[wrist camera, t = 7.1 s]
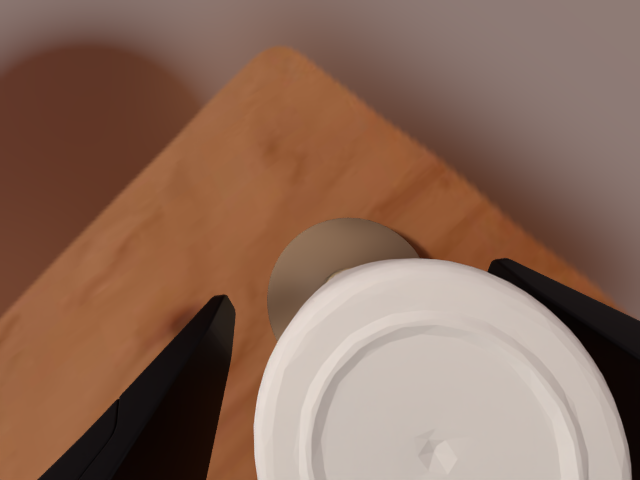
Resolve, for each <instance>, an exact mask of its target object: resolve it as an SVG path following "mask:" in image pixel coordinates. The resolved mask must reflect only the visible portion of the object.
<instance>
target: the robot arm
mask: <svg viewBox="0 0 640 480" xmlns="http://www.w3.org/2000/svg"><path fill="white" fill-rule="evenodd" d="M487 272H488V273H490V274H492V275H495V276H497V277H499V278H501V279H503V280H506V281H508V282H510V283H511V284H513V285H515V286H516V287H518V288H520V289H522V290H523V291H525V292H526V293H528V294H529V295H531V296H532V297H534V298H535V299H536V300H537V301H539V302H540V303H541V304H543V305H544V306H545V307H547V308H548V309H549V310H550V311H551V312H552V313H553V314H554V315H555V316H557V317H558V318H559V319H560V320H561V321H562V322H563V323H564V324H565V325H566V326H567V327H568V328H569V329H570V330H571V331H572V333H573V334H574V335H575V336H576V337H577V338H578V339H579V341H580V342H581V344H582V345H583V346H584V348H585V349H586V350H587V352H588V353H589V355H590V356H591V357H592V359H593V360H594V362H595V364H596V365H597V367H598V369H599V370H600V372H601V373H602V375H603V377H604V379H605V381H606V383H607V386H608V388H609V390H610V392H611V394H612V396H613V398H614V401H615V404H616V407H617V410H618V413H619V415H620V418H621V421H622V424H623V428H624V432H625V435H626V439H627V443H628V447H629V454H630V461H631V473H632V480H640V321H639V320H637V319H634V318H632V317H630V316H628V315H626V314H624V313H622V312H620V311H618V310H616V309H613V308H611V307H609V306H607V305H605V304H603V303H601V302H599V301H597V300H595V299H592V298H590V297H588V296H586V295H584V294H582V293H580V292H578V291H576V290H574V289H571V288H569V287H567V286H565V285H563V284H561V283H559V282H557V281H555V280H553V279H550V278H548V277H546V276H544V275H542V274H540V273H538V272H536V271H534V270H532V269H529V268H527V267H525V266H523V265H521V264H519V263H517V262H515V261H513V260H511V259H508V258H502V259H495V260H493V261H492V262H491V264H490V267H489V269H488V271H487ZM235 315H236V314H235V309H234V307H233V305H232V303H231V301H230V300H229V298H228V296H227V295H216V296H214V297H212V298H211V299H210V300H209V301H208V302H207V303H206V305H205V306H204V307H203V308H202V309H201V310H200V311H199V312H198V313H197V314H196V315H195V316H194V317H193V318H192V320H191V321H190V322H189V323H188V324H187V325H186V326H185V327H184V328H183V329H182V330H181V331H180V332H179V333H178V335H177V336H176V337H175V338H174V339H173V340H172V341H171V342H170V343H169V344H168V345H167V346H166V347H165V348H164V350H163V351H162V352H161V353H160V354H159V355H158V356H157V357H156V358H155V359H154V360H153V361H152V362H151V363H150V365H149V366H148V367H147V368H146V369H145V370H144V371H143V372H142V373H141V374H140V375H139V376H138V377H137V378H136V380H135V381H134V382H133V383H132V384H131V385H130V386H129V387H128V388H127V389H126V390H125V391H124V392H123V393H122V395H121V396H120V397H119V399H117V400H116V401H115V402H114V403H113V404H112V405H111V406H110V407H109V408H108V409H107V410H106V412H105V413H104V414H103V415H102V416H101V417H100V418H99V419H98V420H97V421H96V422H95V423H94V424H93V425H92V426H91V427H90V428H89V429H88V430H87V431H86V432H85V433H84V434H83V436H82V437H81V438H79V439H78V440H77V441H76V442H75V443H74V444H73V445H72V446H71V447H70V448H69V449H68V450H67V451H66V452H65V453H64V454H63V455H62V456H61V457H60V458H59V459H58V460H57V461H56V462H55V463H54V464H53V465H52V466H51V467H50V468H49V469H48V470H47V471H46V472H45V473H44V474H43V475H42V476H41V477H40V478H39V479H38V480H206V478H207V473H208V468H209V463H210V459H211V454H212V449H213V444H214V439H215V434H216V430H217V425H218V420H219V415H220V410H221V406H222V401H223V396H224V391H225V386H226V381H227V377H228V372H229V367H230V362H231V356H232V347H233V336H234V326H235Z"/></svg>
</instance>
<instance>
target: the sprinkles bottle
mask: <svg viewBox="0 0 640 480" xmlns="http://www.w3.org/2000/svg"><path fill="white" fill-rule="evenodd" d="M254 451H255V463H256V470H257V478H258V480H632V473H631V461H630V454H629V447H628V443H627V439H626V435H625V432H624V428H623V424H622V421H621V418H620V415H619V413H618V410H617V407H616V404H615V401H614V398H613V396H612V394H611V392H610V390H609V388H608V386H607V383H606V381H605V379H604V377H603V375H602V373H601V372H600V370H599V369H598V367H597V365H596V364H595V362H594V360H593V359H592V357H591V356H590V355H589V353H588V352H587V350H586V349H585V348H584V346H583V345H582V344H581V342H580V341H579V339H578V338H577V337H576V336H575V335H574V334H573V333H572V331H571V330H570V329H569V328H568V327H567V326H566V325H565V324H564V323H563V322H562V321H561V320H560V319H559V318H558V317H557V316H555V315H554V314H553V313H552V312H551V311H550V310H549V309H548V308H547V307H545V306H544V305H543V304H541V303H540V302H539V301H537V300H536V299H535V298H534V297H532V296H531V295H529V294H528V293H526V292H525V291H523V290H522V289H520V288H518V287H516V286H515V285H513V284H511V283H510V282H508V281H506V280H503V279H501V278H499V277H497V276H495V275H492V274H490V273H488V272H486V271H483V270H480V269H477V268H474V267H471V266H467V265H463V264H459V263H455V262H451V261H444V260H435V259H419V258H411V259H390V260H382V261H376V262H371V263H367V264H363V265H360V266H356V267H354V268H346V269H343V270H341V271H339V272H337V273H335V274H333V275H332V276H331V277H330V278H329V280H328V281H327V282H326V283H325V284H324V285H323V286H322V287H320V288H319V289H318V290H317V291H316V292H315V293H314V294H313V295H312V296H311V297H310V298H309V299H308V300H307V301H306V302H305V303H304V305H303V306H302V307H301V308H300V309H299V311H298V312H297V314H296V315H295V316H294V318H293V319H292V321H291V322H290V323H289V325H288V326H287V328H286V329H285V331H284V332H283V334H282V335H281V337H280V338H279V340H278V342H277V344H276V346H275V348H274V350H273V352H272V354H271V356H270V358H269V361H268V363H267V366H266V369H265V371H264V375H263V378H262V382H261V385H260V389H259V392H258V398H257V404H256V411H255V420H254Z"/></svg>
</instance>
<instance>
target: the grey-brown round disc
mask: <svg viewBox="0 0 640 480" xmlns="http://www.w3.org/2000/svg"><path fill="white" fill-rule="evenodd" d="M411 258H419V259H421V258H420V257H419V256H418V254H417V253H416V251H415V250H414V249H413V248H412V247H411V245H410V244H409V243H408V242H407V241H406V240H405V239H403V238H402V237H401V236H400V235H399V234H397V233H396V232H394V231H392V230H391V229H389V228H387V227H385V226H383V225H381V224H379V223H376V222H373V221H370V220H365V219H359V218H338V219H333V220H328V221H325V222H322V223H319V224H316V225H314V226H312V227H310V228H308V229H307V230H305V231H304V232H302V233H301V234H299V235H298V236H297V237H296V238H295V239H294V240H292V241H291V242H290V244H289V245H288V246H287V247H286V248H285V249H284V251H283V252H282V254H281V255H280V257H279V258H278V260H277V262H276V264H275V266H274V269H273V271H272V274H271V277H270V282H269V286H268V295H267V306H268V314H269V320H270V324H271V327H272V330H273V333H274V335H275V337H276V340H277V341H278V340H279V338H280V337H281V335H282V334H283V332H284V331H285V329H286V328H287V326H288V325H289V323H290V322H291V321H292V319H293V318H294V316H295V315H296V314H297V312H298V311H299V309H300V308H301V307H302V306H303V305H304V303H305V302H306V301H307V300H308V299H309V298H310V297H311V296H312V295H313V294H314V293H315V292H316V291H317V290H318V289H319V288H320V287H322V286H323V285H324V284H325V283H326V282H327V281H328V280H329V278H330V277H331V276H332V275H333V274H335V273H337V272H339V271H341V270H343V269H346V268H354V267H356V266H360V265H363V264H367V263H371V262H376V261H382V260H390V259H411Z"/></svg>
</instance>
